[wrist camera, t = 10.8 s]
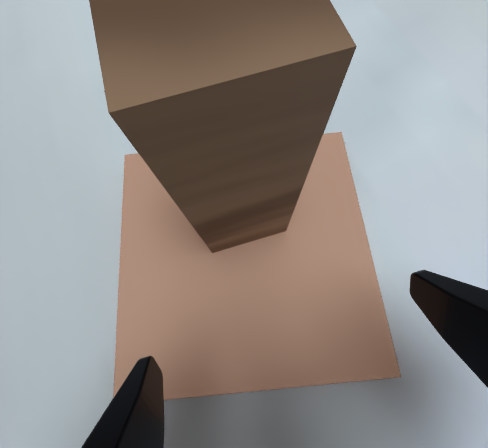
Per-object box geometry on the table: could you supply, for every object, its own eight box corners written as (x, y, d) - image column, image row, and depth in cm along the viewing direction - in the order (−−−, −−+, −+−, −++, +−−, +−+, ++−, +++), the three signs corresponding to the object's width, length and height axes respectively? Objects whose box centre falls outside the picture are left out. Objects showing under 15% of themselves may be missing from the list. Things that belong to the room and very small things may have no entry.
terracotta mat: (392, 373, 16) (401, 376, 15) (121, 399, 16) (112, 404, 15) (337, 140, 21) (341, 132, 20) (130, 162, 21) (124, 154, 20)
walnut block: (286, 231, 18) (357, 46, 5) (212, 253, 17) (109, 112, 5) (262, 166, 19) (275, -94, 7) (194, 186, 19) (81, -48, 7)
